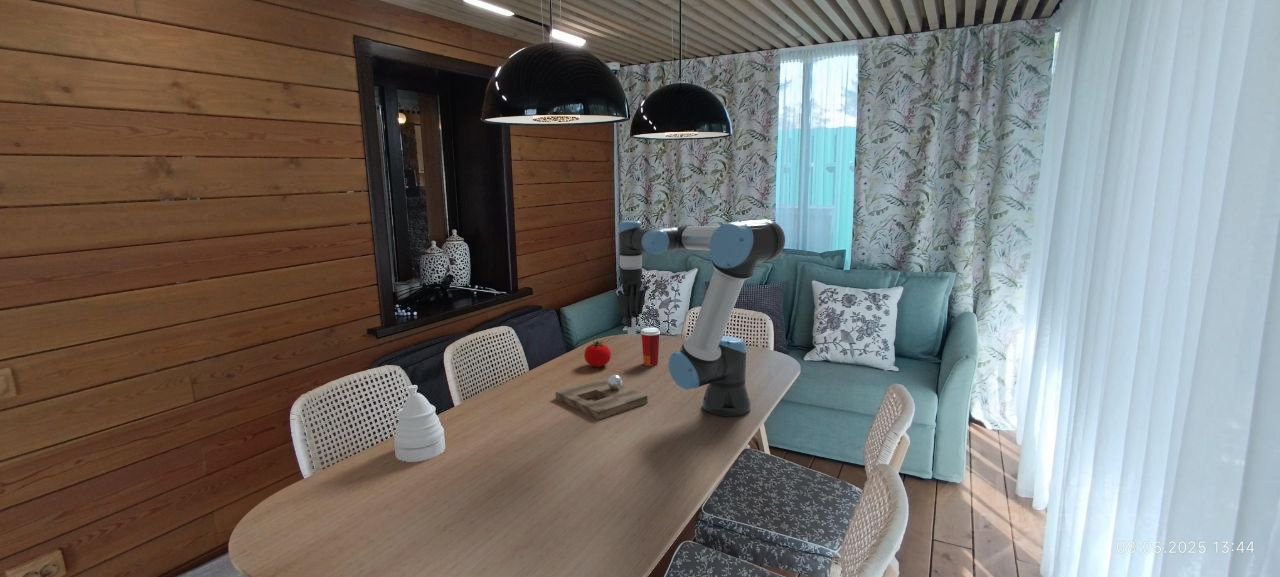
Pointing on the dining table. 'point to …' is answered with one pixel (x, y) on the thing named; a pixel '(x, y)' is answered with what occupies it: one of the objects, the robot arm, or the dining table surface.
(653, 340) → the paper cup
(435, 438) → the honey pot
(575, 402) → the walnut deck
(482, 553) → the dining table surface
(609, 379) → the steel ball
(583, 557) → the dining table surface
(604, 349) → the tomato
